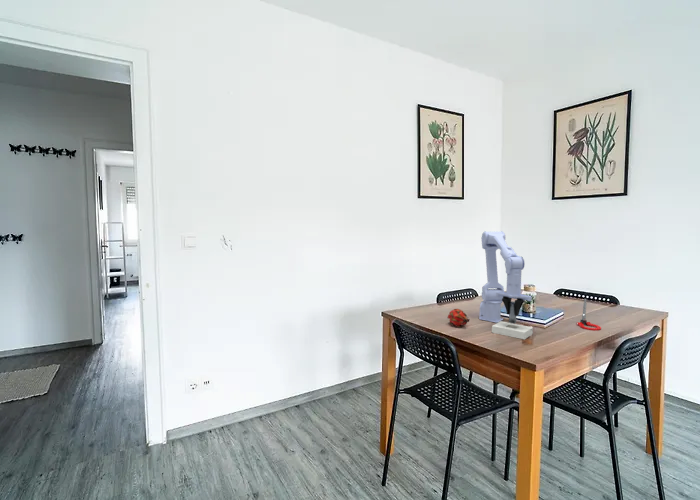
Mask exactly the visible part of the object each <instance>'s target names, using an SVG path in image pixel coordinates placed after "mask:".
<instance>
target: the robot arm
mask: <svg viewBox="0 0 700 500" xmlns="http://www.w3.org/2000/svg"><path fill="white" fill-rule="evenodd" d="M481 248H482V249H483V250H484V251H485V264H486V276H487V277H486V278H487V283H485V284H483V286H482V288H481V290H482V291H481V299H482V301H481V302H480V304H479V317H478V319H479V320H481V321H482V320H483V321H486V322H491V323H495V324H497V323H498V322H500V321H502V322H503V320H504V318H502V317H501V315H502V314H501V311H502V309H501V308H502V304H504V307H505V311H506V315H509V304H510V302H512V299H514V302H515V308H516V309H515V316H516V317H518V316H519V314H520V311H521V308H522V307H523V305H524V302H525V301H527V302H531V301H532V295H528V294H527V295H526V294H523V293H521V291H522V289H521V288H522V270H524V268H525V259H524V258H523V256H520V255H517V253H516V252H515V250H514V249H513V248H512V246H509V245H508V244H507V241H506V233H505V232H504V231H503V230H500V231H485V230H484V231H483V233H482V234H481ZM497 250H499V251H500V256H501V257H502V259H503V261H504V267H505V274H506V291H505V289H504V286H503V285H502V284H501V283H500V282H499V275H498V262H497Z"/></svg>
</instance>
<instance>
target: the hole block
mask: <svg viewBox="0 0 700 500" xmlns="http://www.w3.org/2000/svg"><path fill="white" fill-rule="evenodd" d="M533 328H534V327H533V326H532V327H531V326H529V325H528V326H527V325H522V324H517V323H509V322H506V321H503V320H502V321H500V322H498V323H495V324H493V325H492V326H491V333H492V334H495V335H496V334H497V335H502V336H506V337H511V338H515V339H516V338H517V339H520V340H526V339H528V338H529V337H530V336H532V335H534V334H533V332H534V331H533V330H534V329H533Z"/></svg>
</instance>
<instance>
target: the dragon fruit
mask: <svg viewBox="0 0 700 500" xmlns="http://www.w3.org/2000/svg"><path fill="white" fill-rule="evenodd" d="M447 319H449V323H450V325H454V326H456V327H457V328H462V326H466V325H467V324H468V323H469V322H470V318H469V316H468V315H467V314H466V313H465V312H464V311H463V310H462V309H459V308H453V309H452V310H450V311H449V314H448V315H447Z"/></svg>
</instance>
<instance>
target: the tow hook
mask: <svg viewBox="0 0 700 500" xmlns="http://www.w3.org/2000/svg"><path fill="white" fill-rule="evenodd" d="M586 313H587V298H584V302H583V306H582V314H581V319H580V321H579V322H576V323H575V325H576V326H579V328H581V329H583V330H586V331H597V332H598V331H601V330H602V327H601V326H600V325H598V324H594V323H592V322H590V321H587V315H586ZM589 326H590V327H589Z"/></svg>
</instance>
